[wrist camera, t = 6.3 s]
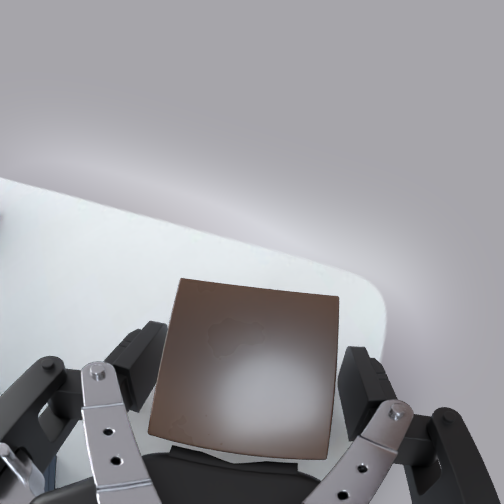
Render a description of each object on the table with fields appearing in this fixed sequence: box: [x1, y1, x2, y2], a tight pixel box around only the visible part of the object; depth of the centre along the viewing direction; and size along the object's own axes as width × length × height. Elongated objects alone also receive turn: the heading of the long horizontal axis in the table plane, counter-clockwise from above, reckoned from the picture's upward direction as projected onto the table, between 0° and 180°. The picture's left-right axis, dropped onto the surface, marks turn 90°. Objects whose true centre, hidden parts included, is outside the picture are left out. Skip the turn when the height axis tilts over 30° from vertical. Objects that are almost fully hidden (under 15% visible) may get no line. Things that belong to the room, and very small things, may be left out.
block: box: [148, 278, 339, 460], centre depth 11 cm, size 4×4×10 cm
